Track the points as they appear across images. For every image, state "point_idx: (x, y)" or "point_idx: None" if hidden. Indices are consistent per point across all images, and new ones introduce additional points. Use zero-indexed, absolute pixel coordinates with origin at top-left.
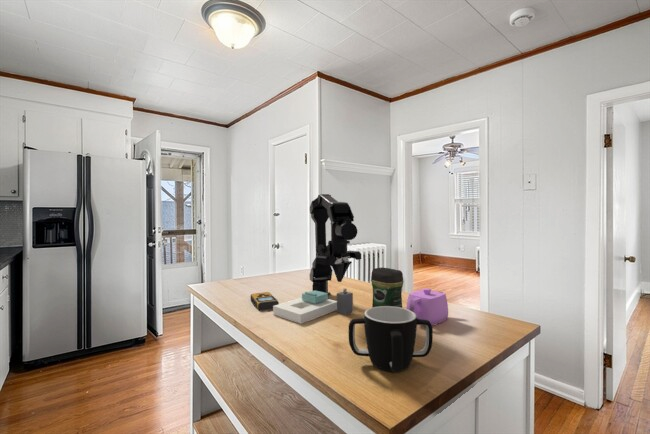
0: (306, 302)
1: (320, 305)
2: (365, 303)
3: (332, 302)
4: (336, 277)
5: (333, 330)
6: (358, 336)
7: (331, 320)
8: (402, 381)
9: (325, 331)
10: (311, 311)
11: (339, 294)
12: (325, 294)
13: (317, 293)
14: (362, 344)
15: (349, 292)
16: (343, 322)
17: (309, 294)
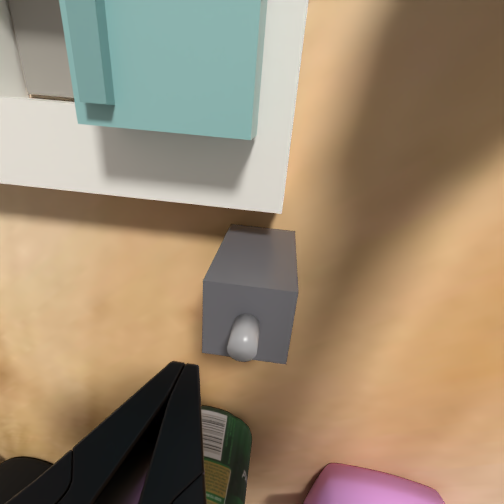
0: None
1: (128, 165)
2: (484, 272)
3: (236, 194)
4: (134, 395)
5: (58, 319)
6: (89, 396)
7: (126, 260)
8: None
9: (28, 302)
10: (22, 184)
11: (203, 300)
12: (215, 136)
13: (179, 46)
14: (59, 419)
15: (284, 342)
16: (146, 311)
17: (72, 13)
